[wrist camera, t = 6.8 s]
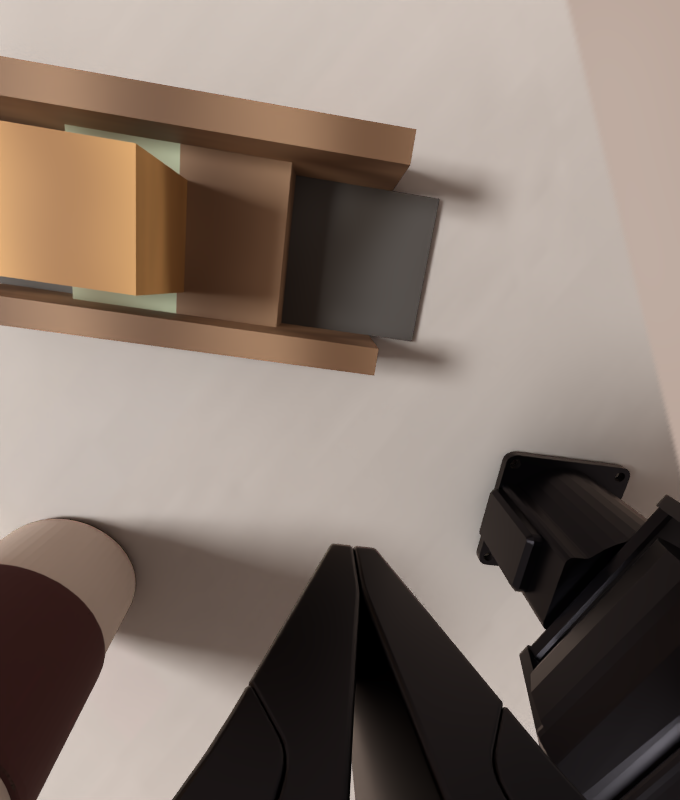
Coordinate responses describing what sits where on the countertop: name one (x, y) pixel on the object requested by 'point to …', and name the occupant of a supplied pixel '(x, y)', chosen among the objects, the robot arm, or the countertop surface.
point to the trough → (244, 223)
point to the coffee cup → (53, 639)
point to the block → (89, 213)
